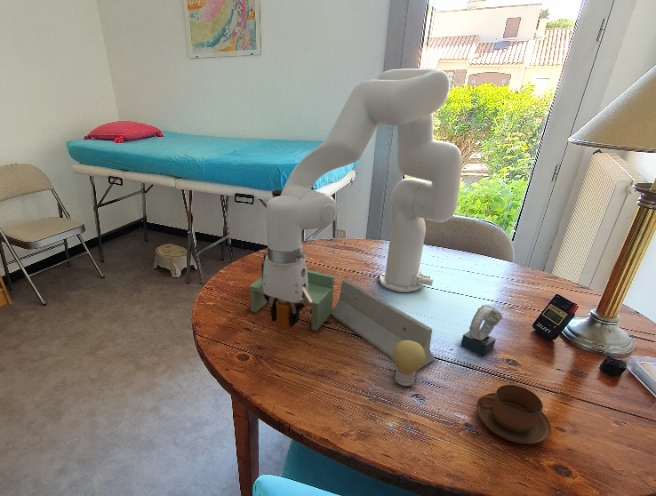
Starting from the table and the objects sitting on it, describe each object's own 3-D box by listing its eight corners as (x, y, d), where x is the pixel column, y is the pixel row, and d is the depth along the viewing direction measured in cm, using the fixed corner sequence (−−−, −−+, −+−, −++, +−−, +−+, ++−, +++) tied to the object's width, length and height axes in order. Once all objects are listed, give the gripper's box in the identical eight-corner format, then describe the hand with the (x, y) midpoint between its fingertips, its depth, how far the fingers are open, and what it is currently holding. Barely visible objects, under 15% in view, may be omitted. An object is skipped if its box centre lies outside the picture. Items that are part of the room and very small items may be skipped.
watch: (497, 346, 95) (509, 307, 90) (478, 360, 91) (490, 319, 86) (474, 335, 99) (485, 297, 94) (455, 348, 95) (465, 308, 90)
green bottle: (280, 283, 109) (280, 252, 104) (272, 289, 105) (272, 258, 101) (267, 279, 110) (266, 249, 106) (259, 286, 107) (257, 255, 103)
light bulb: (421, 376, 87) (429, 338, 82) (417, 396, 82) (425, 357, 77) (391, 368, 89) (397, 331, 84) (385, 387, 84) (391, 348, 79)
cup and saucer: (493, 450, 70) (502, 425, 67) (464, 400, 80) (470, 376, 77) (562, 449, 70) (574, 424, 67) (524, 399, 80) (533, 375, 77)
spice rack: (332, 312, 110) (334, 275, 105) (317, 330, 103) (318, 292, 97) (268, 295, 119) (267, 260, 114) (250, 311, 111) (248, 275, 106)
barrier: (331, 315, 109) (333, 282, 104) (351, 307, 112) (353, 275, 107) (412, 372, 88) (419, 335, 83) (433, 360, 91) (441, 324, 86)
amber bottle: (296, 323, 100) (296, 292, 95) (288, 332, 96) (288, 300, 92) (281, 319, 102) (281, 288, 97) (273, 327, 98) (272, 295, 94)
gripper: (326, 253, 89) (322, 323, 98) (260, 240, 96) (263, 306, 105) (311, 267, 83) (309, 339, 92) (243, 251, 91) (247, 320, 99)
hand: (284, 320), depth 98 cm, fingers closed on amber bottle, 4 cm apart
